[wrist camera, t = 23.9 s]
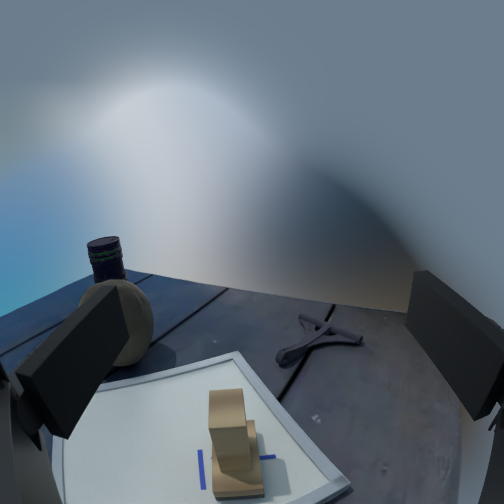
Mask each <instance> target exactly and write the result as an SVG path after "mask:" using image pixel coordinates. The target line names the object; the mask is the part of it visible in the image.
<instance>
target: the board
mask: <svg viewBox="0 0 504 504" xmlns="http://www.w3.org/2000/svg"><path fill="white" fill-rule="evenodd" d="M236 388H242V389H243V396H244V405H245V413H246V420H254V422H255V429H256V436H257V444H258V451H259V458H260V465H261V472H262V478H263V485H264V495H265V497H264V498H254V499H242V500H223V501H216V499H215V497H214V494H213V492H212V440H211V437H210V433H209V429H208V416H209V391H210V390H223V389H236ZM52 472H53V475H54V479H55V482H56V485H57V488H58V491H59V494H60V497H61V500H62V503H63V504H324V503H326V502H328V501H329V500H331V499H333V498H335V497H336V496H338V495H340V494H342V493H343V492H345V491H346V490H348V488H349V486H350V483H351V482H350V481H349V480H348V479H347V478H346V477H345V476H344V475H343V474H342V473H341V472H340V471H339V470H338V469H337V468H336V467H335V466H334V465H333V463H332V462H331V461H330V460H329V459H328V458H327V457H326V456H325V455H324V454H323V453H322V452H321V450H320V449H319V448H318V447H317V446H316V445H315V444H314V443H313V441H312V440H311V439H310V438H309V437H308V436H307V435H306V434H305V432H304V431H303V430H302V429H301V428H300V427H299V426H298V424H297V423H296V422H295V421H294V420H293V419H292V417H291V416H290V415H289V414H288V413H287V411H286V410H285V409H284V408H283V407H282V406H281V404H280V403H279V402H278V401H277V399H276V398H275V397H274V396H273V395H272V393H271V392H270V391H269V390H268V388H267V387H266V386H265V385H264V384H263V382H262V381H261V380H260V379H259V377H258V376H257V375H256V373H255V372H254V371H253V370H252V368H251V367H250V366H249V365H248V363H247V362H246V361H245V359H244V358H243V357H242V356H241V354H240V353H239V352H238V351H235V352H232V353H228V354H225V355H221V356H218V357H214V358H211V359H207V360H204V361H200V362H196V363H193V364H189V365H185V366H181V367H177V368H173V369H169V370H165V371H161V372H156V373H152V374H148V375H143V376H139V377H134V378H129V379H125V380H120V381H115V382H109V383H104V384H100V386H99V388H98V389H97V391H96V393H95V394H94V396H93V398H92V399H91V401H90V403H89V404H88V406H87V408H86V409H85V411H84V413H83V414H82V416H81V418H80V420H79V421H78V423H77V425H76V427H75V428H74V430H73V432H72V434H71V435H70V437H69V439H68V440H67V439H64V438H61V437H58V436H55V435H53V450H52Z"/></svg>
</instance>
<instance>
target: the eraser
mask: <svg viewBox="0 0 504 504" xmlns="http://www.w3.org/2000/svg"><path fill="white" fill-rule="evenodd" d="M208 429H209V433H210V437H211V440H212V492H213V494H214V497H215V499H216V501H223V500H242V499H254V498H264V497H265V495H264V485H263V478H262V472H261V465H260V458H259V451H258V444H257V436H256V429H255V422H254V420H246V413H245V405H244V396H243V389H242V388H236V389H223V390H210V391H209V416H208Z"/></svg>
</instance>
